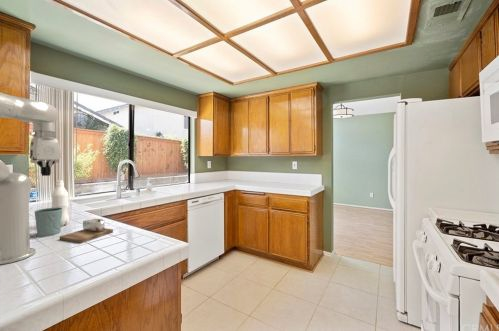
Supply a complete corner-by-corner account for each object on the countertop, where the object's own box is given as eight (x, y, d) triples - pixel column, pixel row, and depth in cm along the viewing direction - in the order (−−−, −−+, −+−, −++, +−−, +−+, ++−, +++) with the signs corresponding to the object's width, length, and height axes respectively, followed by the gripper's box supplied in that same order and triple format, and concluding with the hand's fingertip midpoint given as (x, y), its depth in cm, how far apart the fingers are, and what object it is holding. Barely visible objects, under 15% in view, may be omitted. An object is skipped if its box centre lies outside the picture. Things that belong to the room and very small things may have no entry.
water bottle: (59, 227, 120) (58, 181, 119) (48, 227, 121) (47, 180, 120) (72, 223, 127) (71, 179, 126) (62, 223, 128) (61, 179, 128)
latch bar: (106, 229, 110) (106, 218, 110) (99, 232, 107) (98, 220, 106) (89, 227, 114) (89, 216, 114) (82, 229, 111) (82, 218, 111)
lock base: (81, 243, 98) (80, 229, 97) (59, 239, 102) (59, 226, 102) (113, 232, 112) (112, 220, 112) (92, 229, 117) (92, 218, 116)
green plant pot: (29, 236, 107) (29, 211, 106) (53, 229, 117) (52, 206, 116) (46, 238, 104) (45, 212, 104) (68, 231, 114) (67, 207, 114)
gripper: (29, 133, 95) (30, 177, 95) (67, 136, 109) (69, 174, 110) (18, 134, 97) (20, 176, 98) (57, 137, 111) (58, 174, 112)
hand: (46, 175), depth 104 cm, fingers closed
